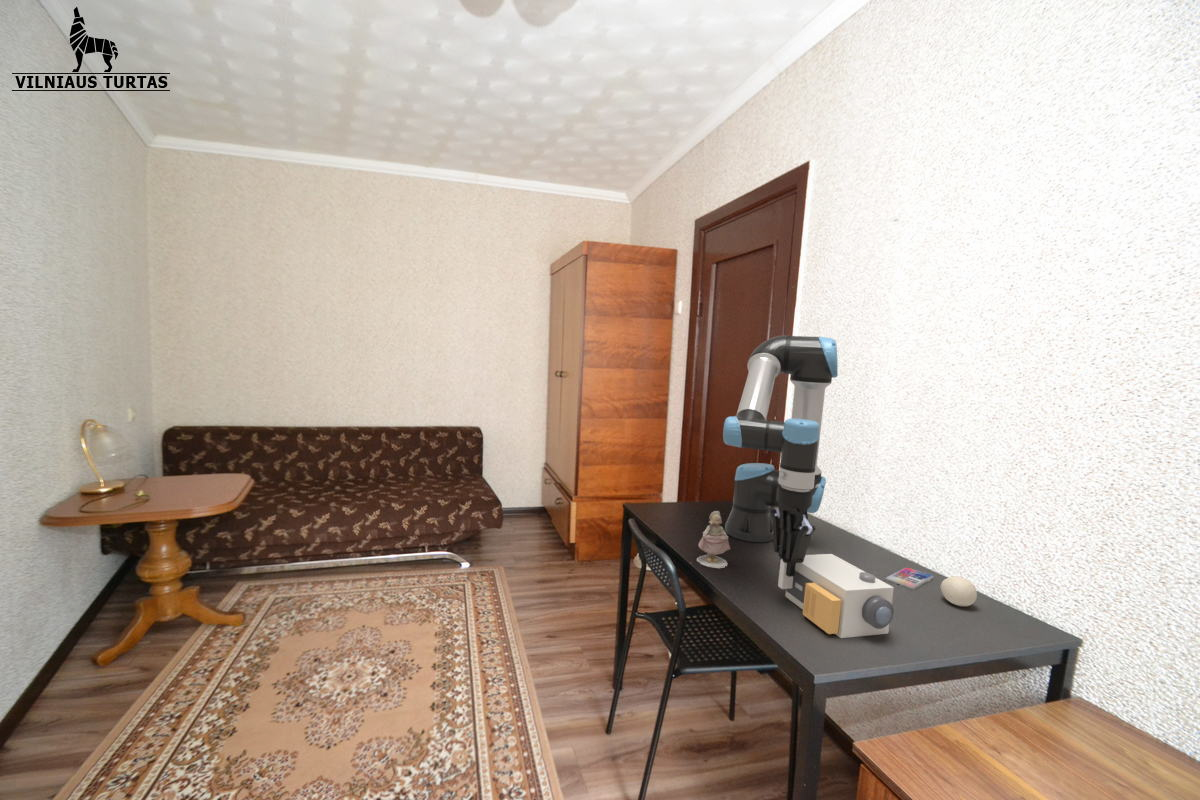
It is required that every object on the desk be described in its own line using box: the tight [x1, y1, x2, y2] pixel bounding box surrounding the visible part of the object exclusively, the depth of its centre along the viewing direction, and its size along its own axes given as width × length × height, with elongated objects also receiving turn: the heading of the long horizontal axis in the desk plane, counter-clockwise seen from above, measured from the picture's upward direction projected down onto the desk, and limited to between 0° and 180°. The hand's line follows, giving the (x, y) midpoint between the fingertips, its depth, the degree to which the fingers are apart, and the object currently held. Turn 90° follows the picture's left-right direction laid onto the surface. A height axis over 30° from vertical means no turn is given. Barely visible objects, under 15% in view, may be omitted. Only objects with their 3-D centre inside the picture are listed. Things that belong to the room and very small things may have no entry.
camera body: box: [785, 553, 895, 639], centre depth 109 cm, size 21×12×11 cm, turn 16°
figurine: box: [689, 510, 731, 569], centre depth 136 cm, size 11×10×15 cm
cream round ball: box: [940, 576, 978, 607], centre depth 120 cm, size 7×7×7 cm
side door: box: [802, 583, 841, 635], centre depth 104 cm, size 8×2×7 cm, turn 16°
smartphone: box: [884, 567, 935, 590], centre depth 134 cm, size 7×1×15 cm
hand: (784, 587), depth 114 cm, fingers closed
